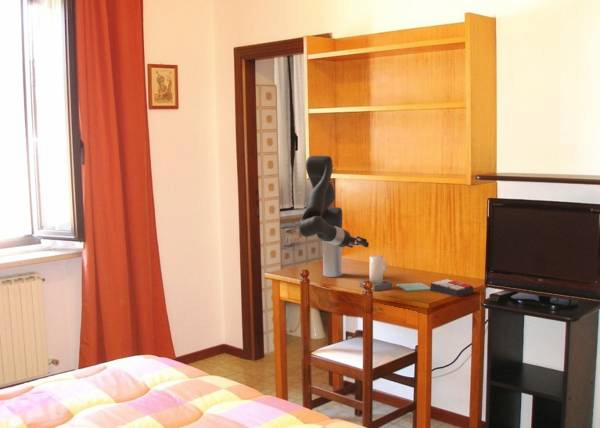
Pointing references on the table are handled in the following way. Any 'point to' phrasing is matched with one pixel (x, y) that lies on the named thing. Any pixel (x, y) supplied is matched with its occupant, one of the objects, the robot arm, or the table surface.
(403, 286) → the coaster pad
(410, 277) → the table surface
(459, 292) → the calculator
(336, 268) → the robot arm
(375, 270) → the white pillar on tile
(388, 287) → the holder
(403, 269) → the table surface
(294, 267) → the table surface
